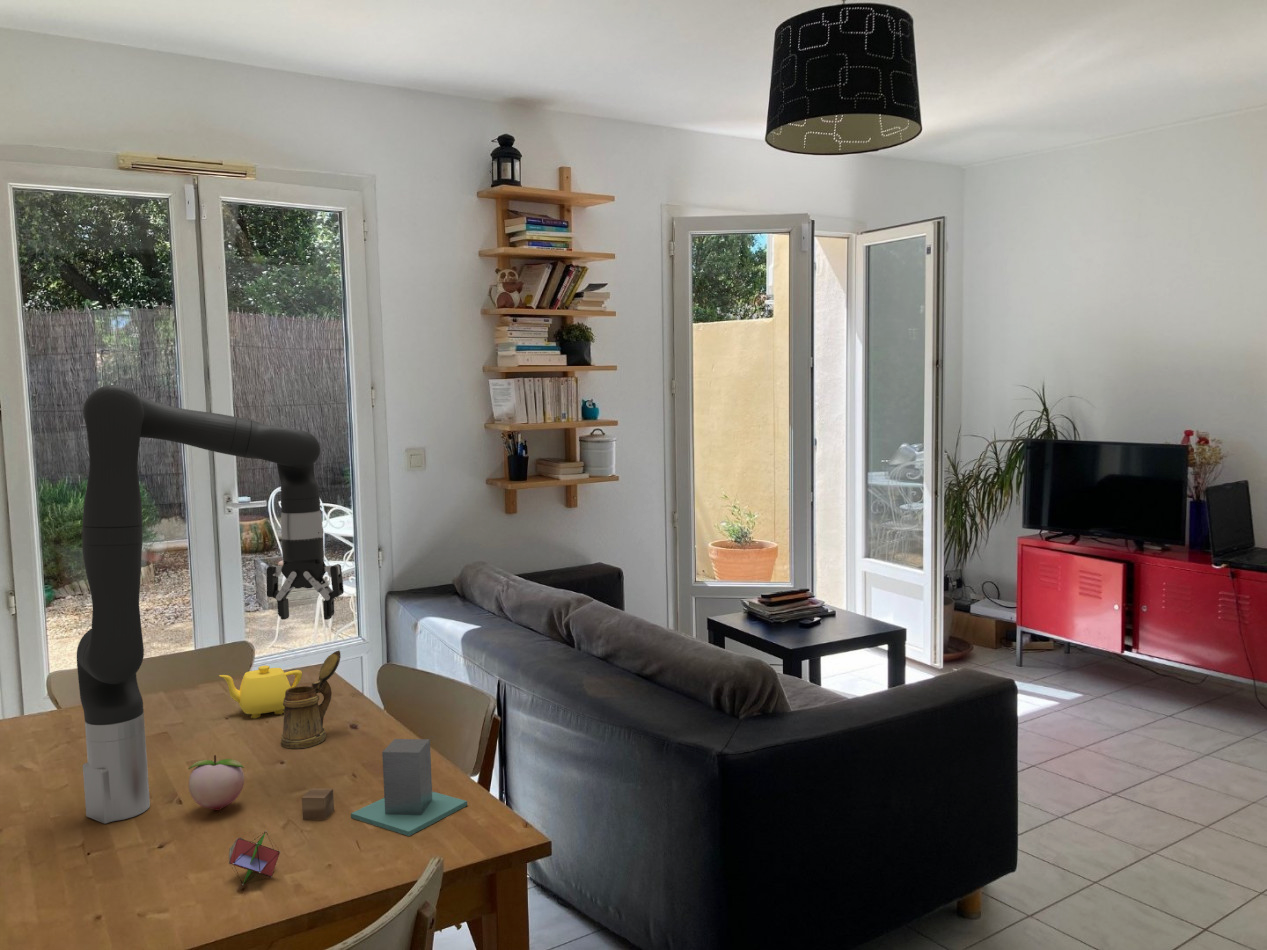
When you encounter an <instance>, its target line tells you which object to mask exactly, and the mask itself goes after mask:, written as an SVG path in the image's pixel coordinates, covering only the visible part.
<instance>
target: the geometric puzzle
mask: <svg viewBox="0 0 1267 950" xmlns="http://www.w3.org/2000/svg"><path fill="white" fill-rule="evenodd" d="M261 833H262V834H261ZM257 834H259V832H257V833H256V835H257ZM265 835H266V836H267V837H268V840H269V842H270V843H272V842H273V839H271V836H270V835H269V833H268V832H267V830H265V831H263V832H260V835H259V836H257V837H256V838H254V840H252V841H250V840H245V839H244V838H243V837H242V836H240V837H237V838H236V840H235V841H234V842H233V844H232V845H231V847H230V848H229V852H228V853H229V854H228V864H229V866H230V867H231V869H232V870H233V872H234V873H235V875H236V876H238V879H239V881H240V883H241V884H242V886H244V885H245V884H248V882H249V881H251V880H252V879H254V877H256V876H258V875H259V874H260V875H262V876H266V877H268V878H273V874H274V871H275V868H276V865H277V863H278V860H279V856H280V853H281V851H280V850H277V849H275V848H274V846H273V845H271V846H272V848H271V847H268V846H264V844H263V841H264V838H265ZM260 836H261V837H260ZM258 838H260V839H259V840H258V841H257V842H254V841H256V839H258ZM270 839H271V840H270ZM271 841H272V842H271ZM262 844H263V845H262ZM273 844H274V845H275V847H277V845H276V844H275V842H273ZM232 866H234V868H235V870H234V869H233V867H232ZM236 867H238V868H241V869H244V870H246V874H245V877H244V880H243V881H242V880H241V877H240V875H239V872H238V871H237V869H236ZM235 871H236V872H235ZM252 873H255V875H254V876H252V877H250V876H251V874H252ZM249 877H250V878H249ZM264 879H265V880H267V878H264ZM261 880H263V879H262V878H261V879H260V881H261ZM256 881H259V879H257V880H256ZM253 882H254V881H252V883H253Z"/></svg>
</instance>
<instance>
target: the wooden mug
mask: <svg viewBox="0 0 1267 950" xmlns="http://www.w3.org/2000/svg"><path fill="white" fill-rule="evenodd" d="M341 658H342V657H341V651H340V650H337V651H335V652H333V653H331V654H330V655H328V656H327V657H326V658H325V660H324V661H323V663H322V666H321V667H320V670H319V672H318V673H319V674H318V680H317V681H314V682H313V683H311V686H307V685H299V686H298V685H297V686H296V687H293V688H289V689H287V690H286V692H285V698H284V701H283V706H284V707H285V709H283V711H284V714H283V725H282V726H283V727H282V734H281V737H280V746H281V747H282V748H286V749H292V750H293V749H297V750H298V749H305V748H310V747H314V746H317V745H319V744H321V743H323V742H324V741H325V740H326V737H327V736H326V735H327V734H326V730H325V728H324V727H323V725H324V718H325V715H326V712H327V710H328V708H329V705H330V702H331V701H332V687H331V685H330V683H329V682H328V680H329V679H331V678H332V676H333V675H334V674H335V673H336V671H337V670H338V667H339V664H340V661H341ZM317 694H321V695H322V696H323V700H322V702H321V703H320V704H319V701H320V696H319V695H317Z"/></svg>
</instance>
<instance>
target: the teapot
mask: <svg viewBox="0 0 1267 950" xmlns="http://www.w3.org/2000/svg"><path fill="white" fill-rule="evenodd" d="M257 668H258V669H256V670H254V669H253V670H250V671H246V672H245V673H244V675H243V677H242V680H241V682H240V686H239V687H240V688H239V689H237V687H236V686H235V682H234V679H233V677H231V676H230V675H227V674H219V675H218V676H219V677H221V678H222V679H224V680H225V682H226V683H227V686H228V691H229V695H230V697H231V699H233V700H234V701H235V702H237V703H238V704H239V707H240V709H241V711H242V712H243V713H244V714H247V715H251V716H250V718H251V719H258V718H257V717H259V718H260V716H261V715H262V714H268V713H272V712H274V715H276V714H280V715H283V714H282V713H284V709H285V707H284V706H283V701H284V698H285V692H286V690H287V689H289V688H293V687H298V685H299V683H300V682H301V680H302V677H303V672H302V670H300V669H294V670H290V671H284V669H282V668H281V667H270V665H261V666H258V667H257ZM288 676H294V677H295V678H294V680H293V683H292V685H290V681H289V679H288ZM261 717H262V716H261Z"/></svg>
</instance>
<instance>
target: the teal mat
mask: <svg viewBox="0 0 1267 950" xmlns="http://www.w3.org/2000/svg"><path fill="white" fill-rule="evenodd" d="M467 806H468V801H467V800H465V799H462V798H457V797H454V796H450V795H447V794H443V793H439V792H436V791H433V790H432V801H431V802H430V804H429V805H428V807H427V808H426V809H425V811H424V812H423V814H422V815H393V814H385V801H384V797H383V798H381V799H379V800H376V801H374V802H372V803H370V804H368V805H365V806H363V807H361V808H359V809H357V810H355V811H352V812H351V813H350V817H351V818H350V819H354V820H357V821H361V822H363V823H366V824H369V825H372V826H376V827H379V828H382V829H385V830H388V831H391V832H395V833H398V834H401V835H404V836H407V837H411V836H413V835H414V834H416V833H418V832H420V831H422V830H424V829H425V828H428V827H429V826H431V825H433V824H435V823H437V822H438V821H440V820H442V819H444V818H446V817H448V816H450V815H452V814H454V813H456V812H459V810H462V809H464V808H465V807H467Z"/></svg>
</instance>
